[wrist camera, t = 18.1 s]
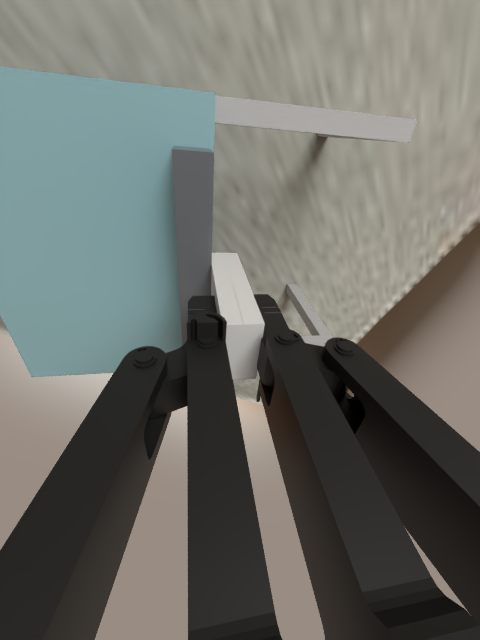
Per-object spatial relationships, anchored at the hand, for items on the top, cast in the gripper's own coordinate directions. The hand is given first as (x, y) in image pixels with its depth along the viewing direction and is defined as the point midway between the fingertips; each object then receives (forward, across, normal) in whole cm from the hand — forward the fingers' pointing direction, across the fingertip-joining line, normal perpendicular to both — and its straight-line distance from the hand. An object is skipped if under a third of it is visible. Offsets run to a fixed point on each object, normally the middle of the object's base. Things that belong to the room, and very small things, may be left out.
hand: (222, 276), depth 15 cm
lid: (+2, -6, 0) cm, 7 cm away
